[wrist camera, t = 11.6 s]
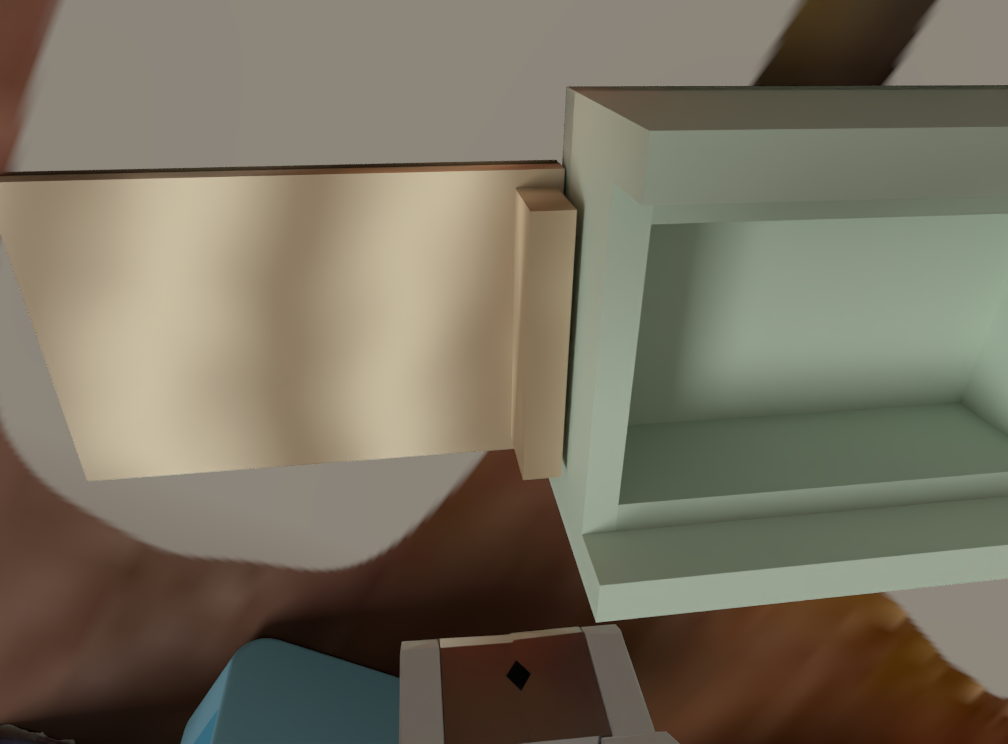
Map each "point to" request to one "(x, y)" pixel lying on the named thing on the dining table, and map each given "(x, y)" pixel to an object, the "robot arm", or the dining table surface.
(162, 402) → the cover plate
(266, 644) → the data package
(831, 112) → the box
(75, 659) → the dining table surface
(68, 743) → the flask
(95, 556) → the dining table surface
